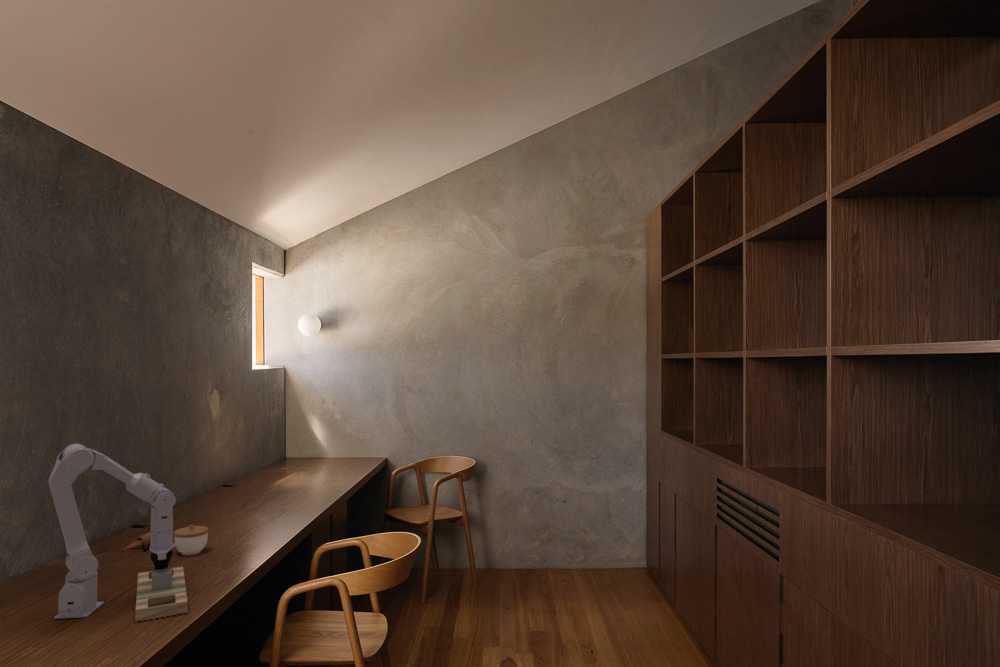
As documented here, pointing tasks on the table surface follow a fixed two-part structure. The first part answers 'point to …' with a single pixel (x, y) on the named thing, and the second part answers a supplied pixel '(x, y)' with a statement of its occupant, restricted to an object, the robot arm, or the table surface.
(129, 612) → the table surface
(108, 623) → the table surface
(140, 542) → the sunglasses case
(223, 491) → the table surface
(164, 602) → the trap deck
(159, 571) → the block
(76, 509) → the robot arm
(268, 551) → the table surface
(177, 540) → the lidded jar
